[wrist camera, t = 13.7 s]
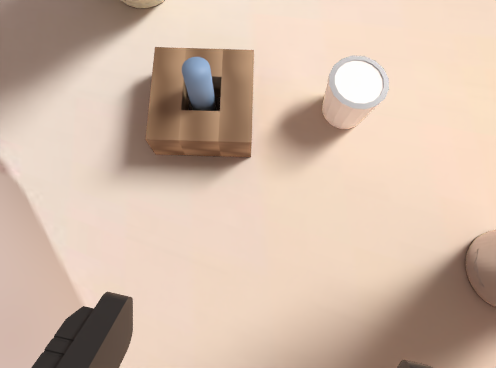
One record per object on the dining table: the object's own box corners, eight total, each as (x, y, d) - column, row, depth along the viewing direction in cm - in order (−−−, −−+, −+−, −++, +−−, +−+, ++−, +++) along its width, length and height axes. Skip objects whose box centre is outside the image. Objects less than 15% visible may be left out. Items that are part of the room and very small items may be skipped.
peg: (217, 102, 49) (211, 57, 39) (216, 123, 48) (209, 82, 38) (194, 102, 49) (182, 56, 39) (193, 122, 48) (180, 81, 38)
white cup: (307, 100, 49) (317, 71, 42) (350, 77, 50) (366, 45, 43) (336, 142, 48) (351, 119, 41) (379, 118, 49) (401, 91, 42)
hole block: (252, 72, 50) (253, 50, 45) (250, 157, 47) (251, 142, 42) (163, 70, 50) (155, 47, 45) (155, 154, 47) (145, 139, 42)
